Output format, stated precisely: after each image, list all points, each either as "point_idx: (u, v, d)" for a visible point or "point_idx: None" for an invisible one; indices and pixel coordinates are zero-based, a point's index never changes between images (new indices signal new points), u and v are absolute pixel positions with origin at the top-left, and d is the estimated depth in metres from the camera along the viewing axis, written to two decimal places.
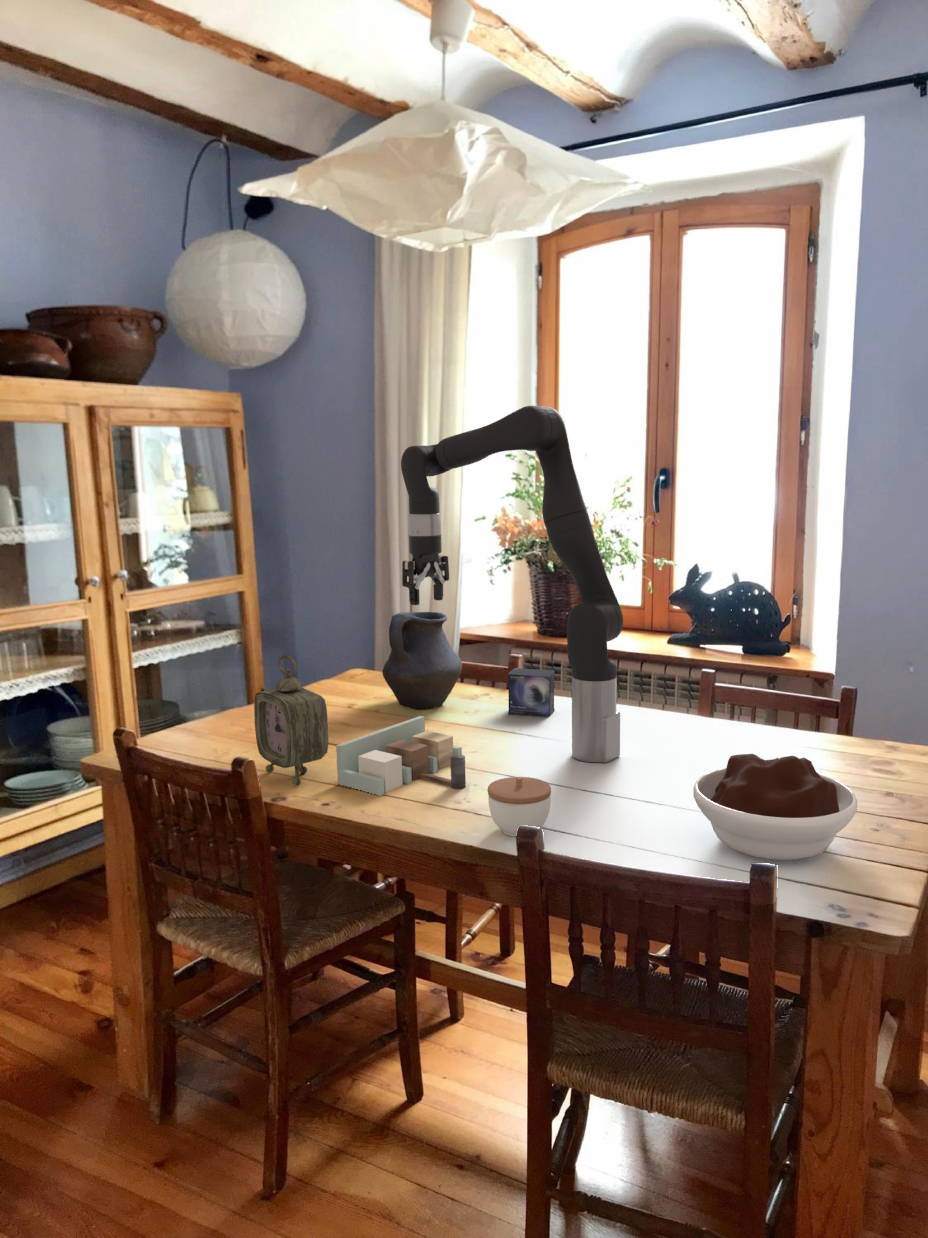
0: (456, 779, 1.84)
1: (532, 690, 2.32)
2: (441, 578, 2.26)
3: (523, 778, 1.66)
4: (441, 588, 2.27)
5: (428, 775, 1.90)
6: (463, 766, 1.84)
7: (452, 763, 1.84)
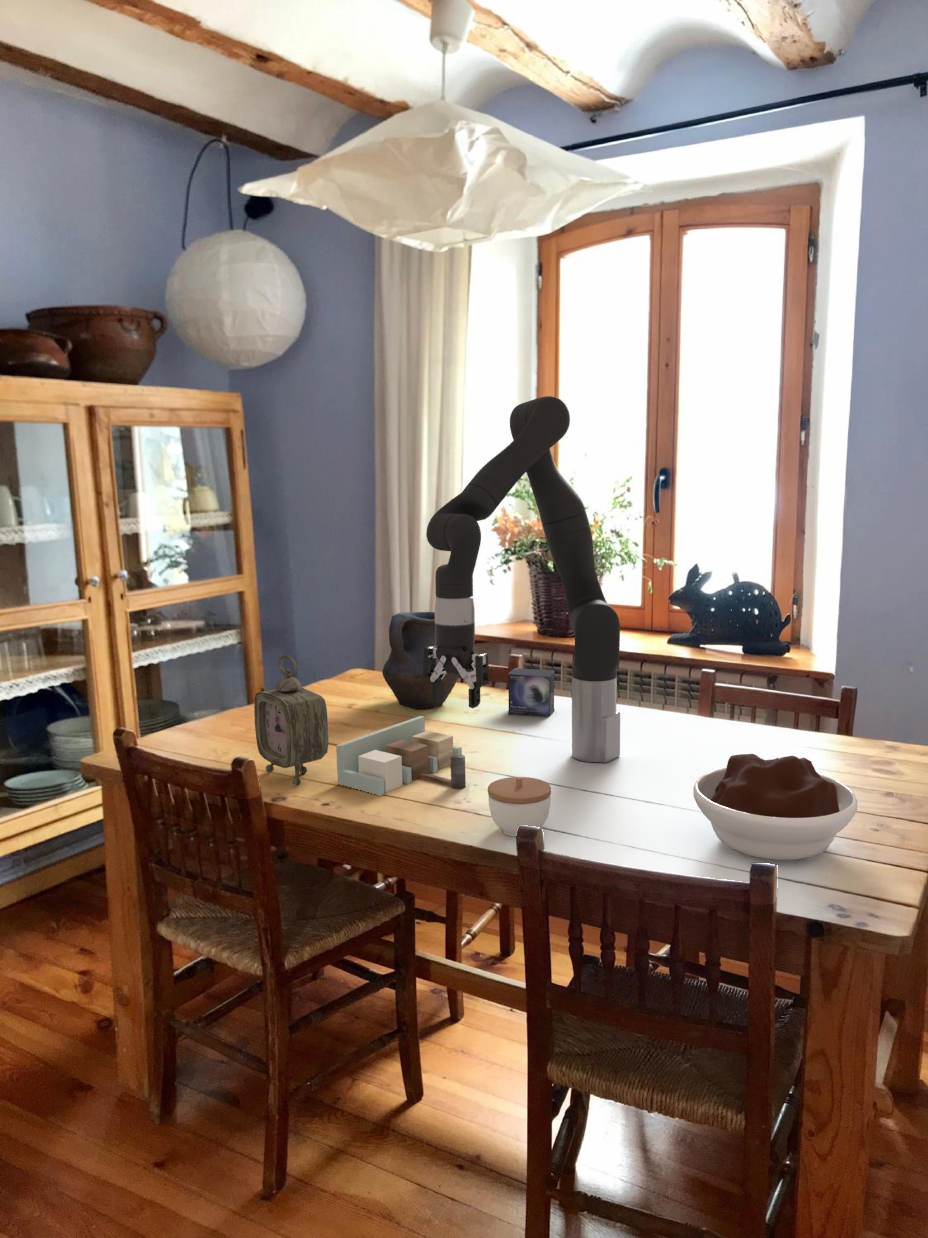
0: (456, 779, 1.84)
1: (532, 690, 2.32)
2: None
3: (523, 778, 1.66)
4: None
5: (428, 775, 1.90)
6: (463, 766, 1.84)
7: (452, 763, 1.84)
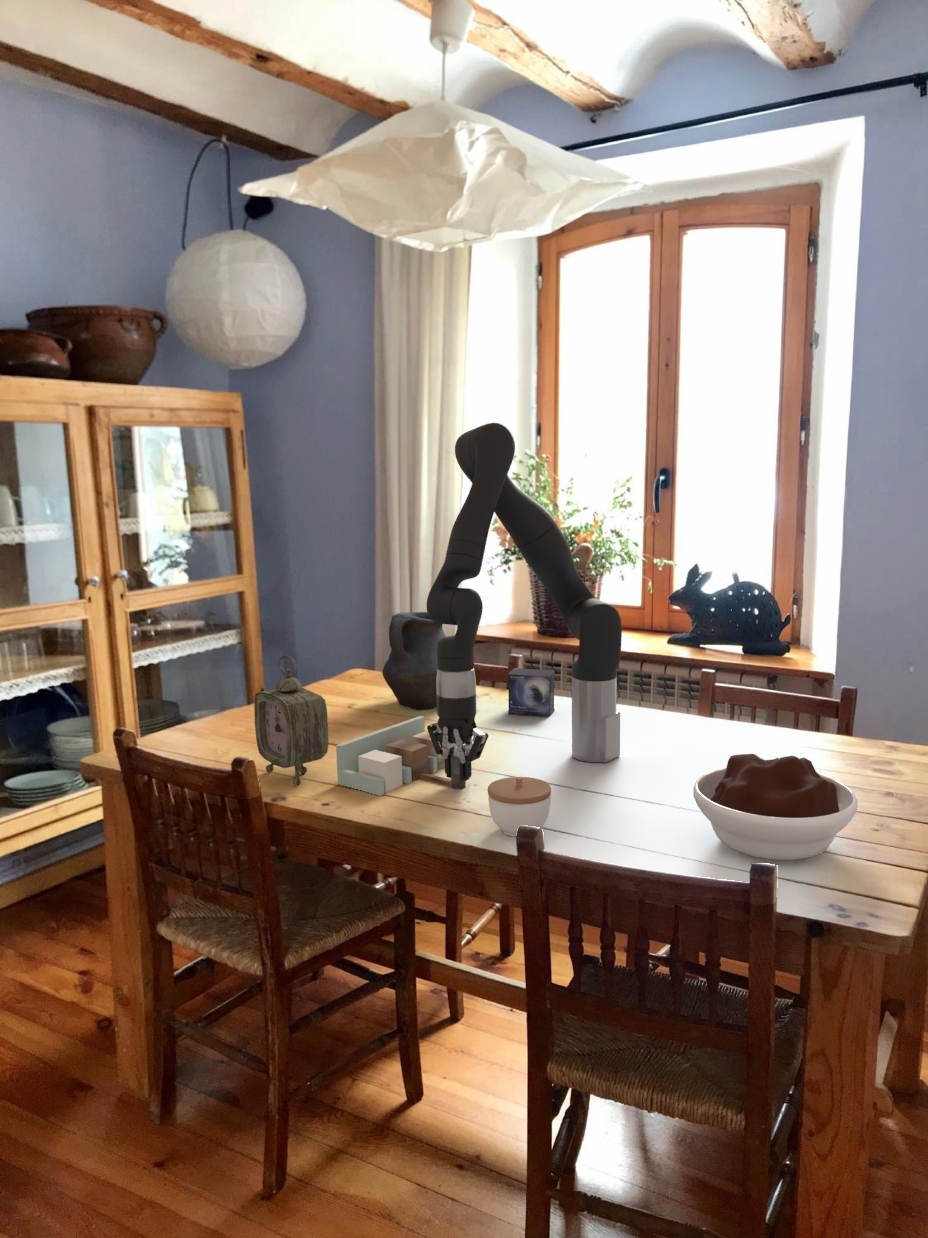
0: (456, 779, 1.84)
1: (532, 690, 2.32)
2: None
3: (523, 778, 1.66)
4: None
5: (428, 775, 1.90)
6: None
7: (452, 763, 1.84)
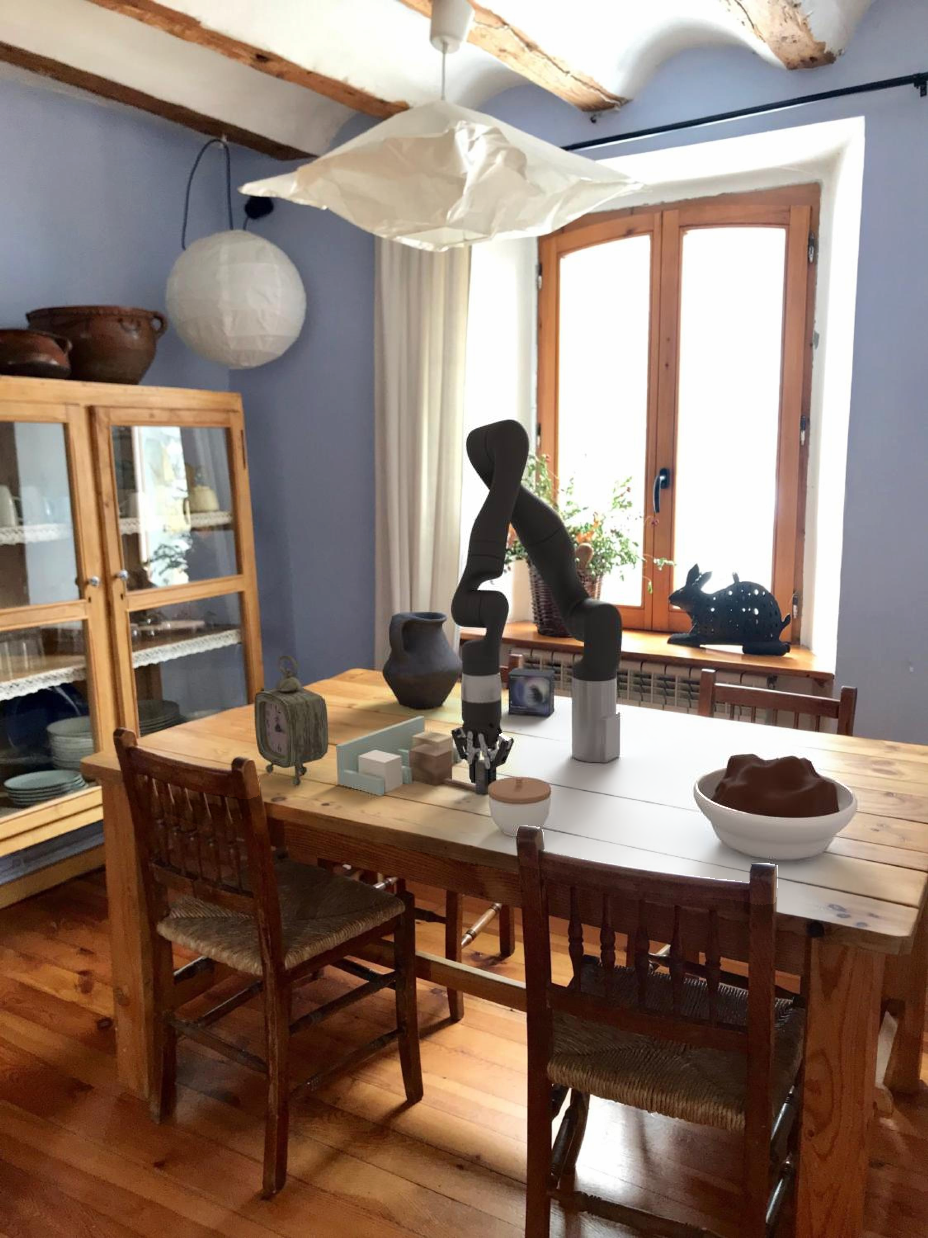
0: (480, 784, 1.80)
1: (532, 690, 2.32)
2: None
3: (523, 778, 1.66)
4: None
5: (452, 780, 1.86)
6: None
7: (477, 768, 1.80)
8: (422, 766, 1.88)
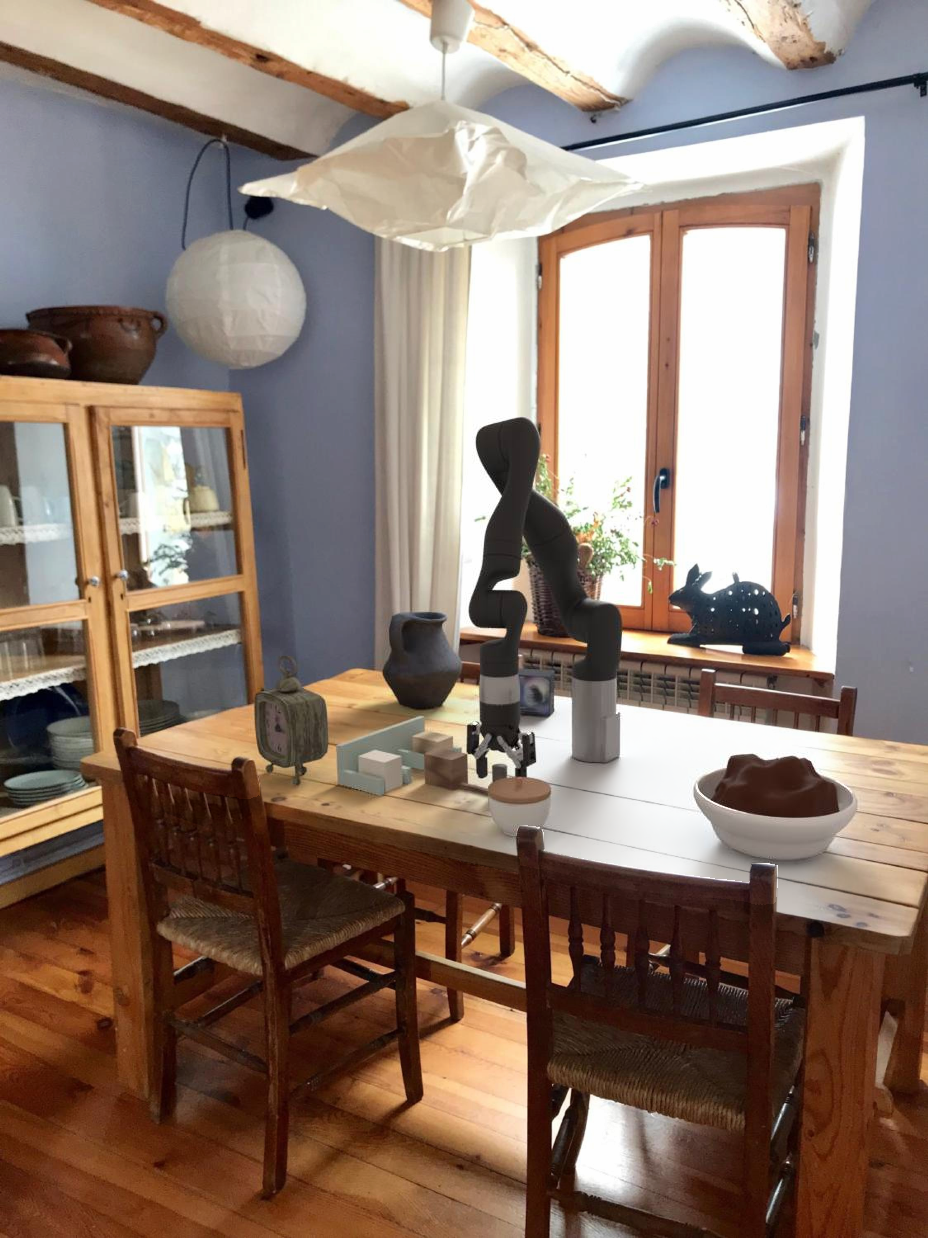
0: None
1: (532, 690, 2.32)
2: None
3: (523, 778, 1.66)
4: None
5: (468, 785, 1.84)
6: (505, 776, 1.78)
7: (494, 773, 1.78)
8: (438, 771, 1.85)
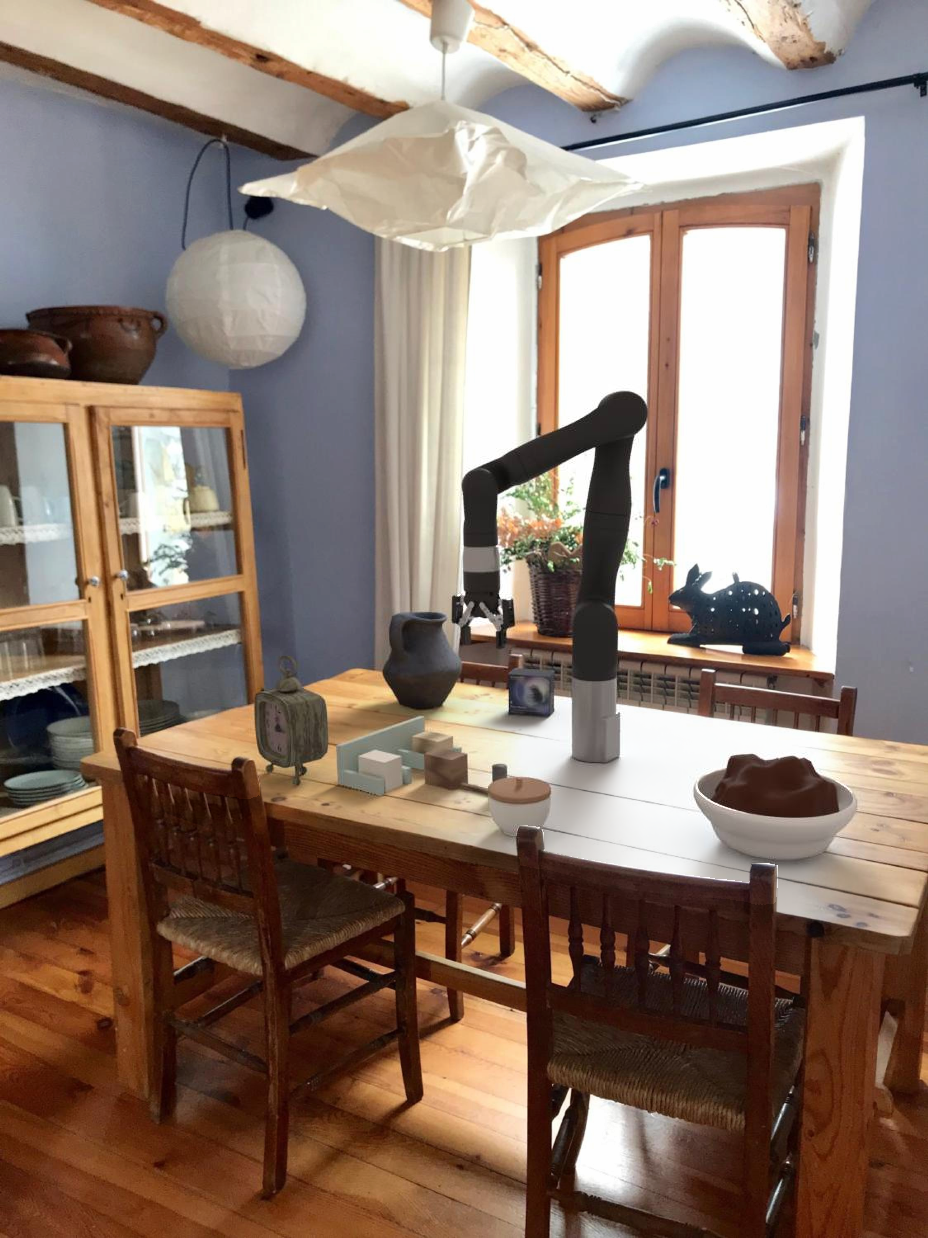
0: None
1: (532, 690, 2.32)
2: None
3: (523, 778, 1.66)
4: None
5: (468, 785, 1.84)
6: (505, 776, 1.78)
7: (494, 773, 1.78)
8: (438, 771, 1.85)
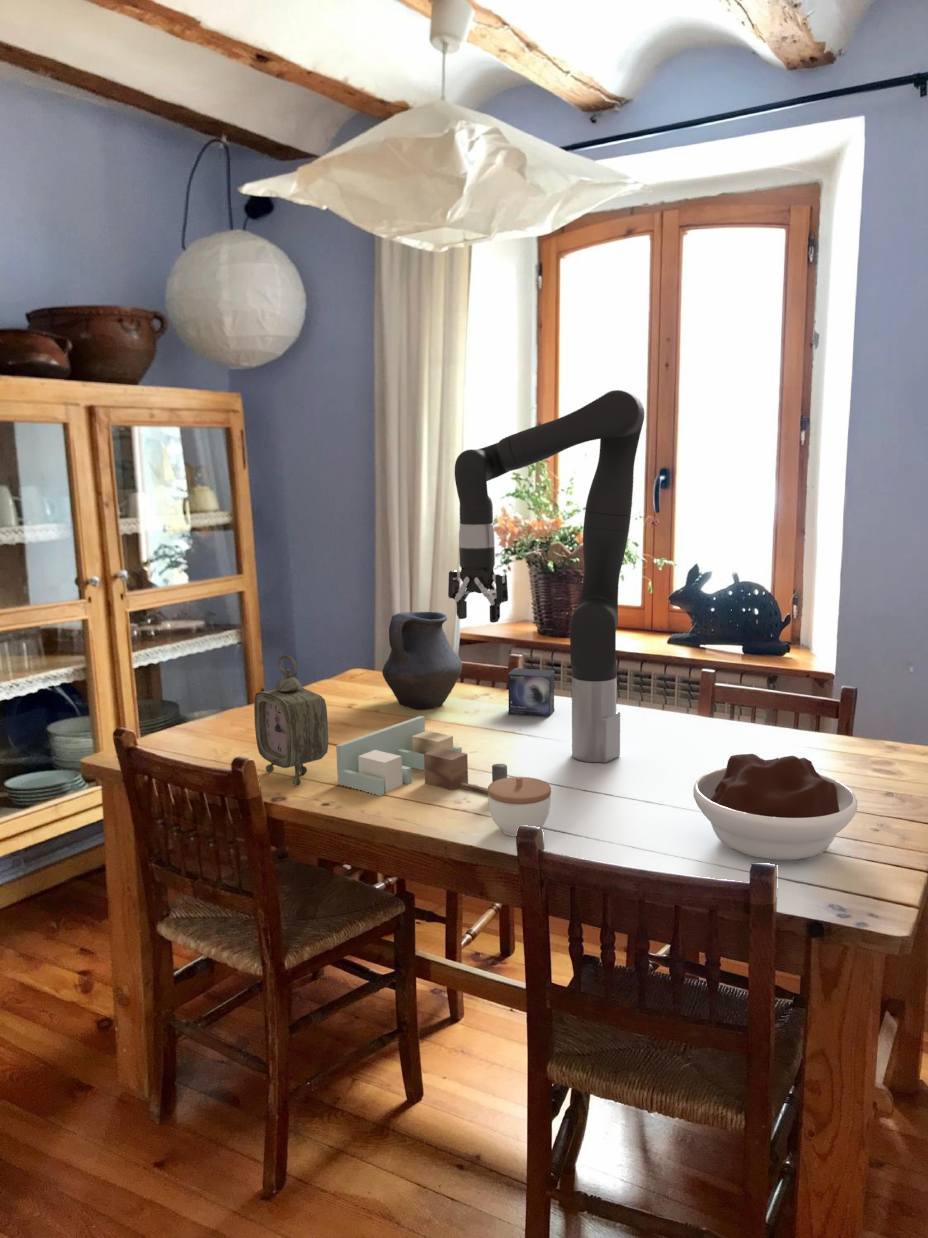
0: None
1: (532, 690, 2.32)
2: None
3: (523, 778, 1.66)
4: None
5: (468, 785, 1.84)
6: (505, 776, 1.78)
7: (494, 773, 1.78)
8: (438, 771, 1.85)
